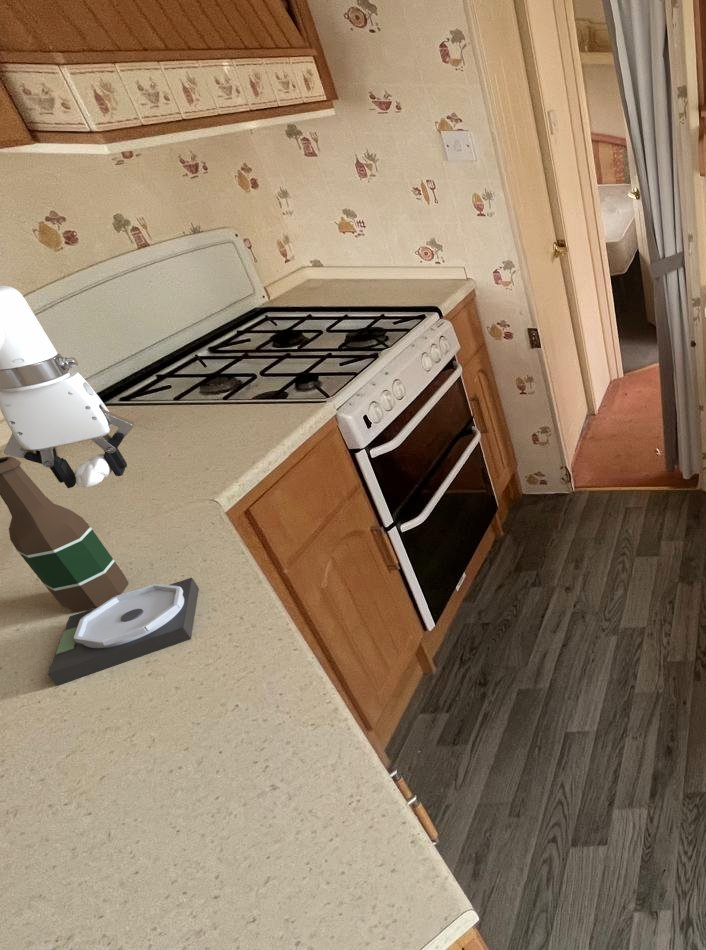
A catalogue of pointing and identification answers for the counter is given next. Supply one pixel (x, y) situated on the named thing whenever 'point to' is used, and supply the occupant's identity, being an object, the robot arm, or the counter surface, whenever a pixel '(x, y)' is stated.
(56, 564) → the beer bottle
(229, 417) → the counter surface
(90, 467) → the dumpling
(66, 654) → the scale
